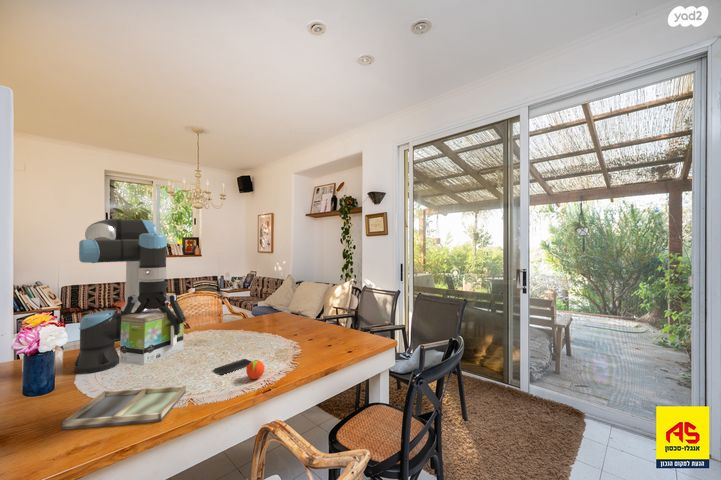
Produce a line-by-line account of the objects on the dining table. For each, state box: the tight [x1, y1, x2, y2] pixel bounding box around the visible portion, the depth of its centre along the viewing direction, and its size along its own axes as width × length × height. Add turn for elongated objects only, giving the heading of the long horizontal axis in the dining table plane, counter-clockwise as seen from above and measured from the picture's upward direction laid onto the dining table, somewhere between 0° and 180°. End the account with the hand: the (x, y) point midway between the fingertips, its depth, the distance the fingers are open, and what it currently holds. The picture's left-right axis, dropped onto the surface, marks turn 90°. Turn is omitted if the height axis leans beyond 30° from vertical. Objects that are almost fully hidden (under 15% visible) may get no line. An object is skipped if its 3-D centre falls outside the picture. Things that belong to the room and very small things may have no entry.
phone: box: [213, 358, 253, 376], centre depth 135 cm, size 8×1×15 cm
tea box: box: [119, 307, 185, 366], centre depth 103 cm, size 15×10×15 cm, turn 164°
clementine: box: [245, 359, 265, 380], centre depth 124 cm, size 8×7×7 cm
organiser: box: [61, 385, 187, 431], centre depth 101 cm, size 26×19×2 cm
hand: (152, 345), depth 102 cm, fingers closed on tea box, 12 cm apart
